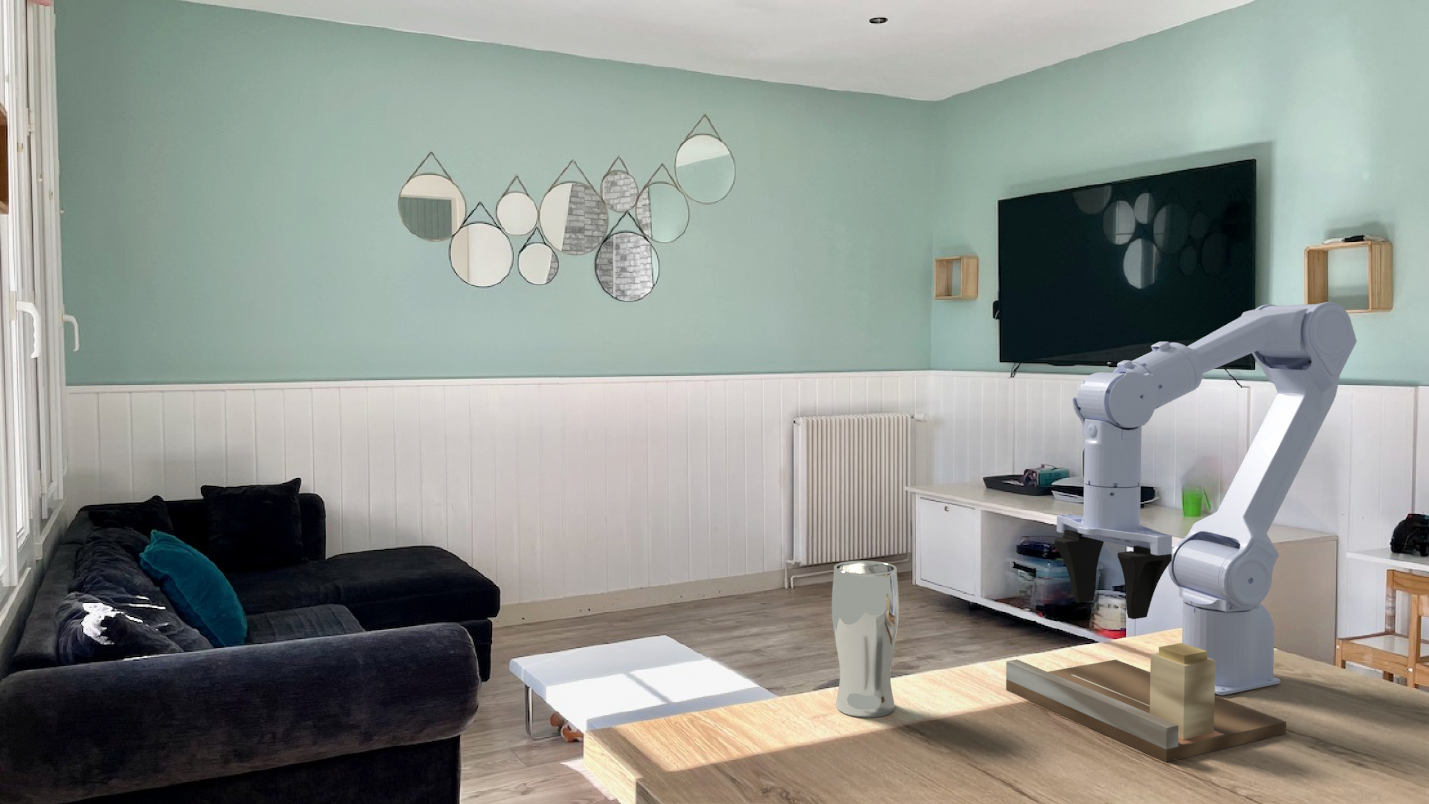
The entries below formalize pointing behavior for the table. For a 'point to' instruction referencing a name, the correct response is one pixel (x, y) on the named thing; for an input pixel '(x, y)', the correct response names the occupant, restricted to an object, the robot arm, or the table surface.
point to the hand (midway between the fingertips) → (1110, 609)
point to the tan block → (1183, 689)
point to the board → (1133, 708)
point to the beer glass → (865, 635)
